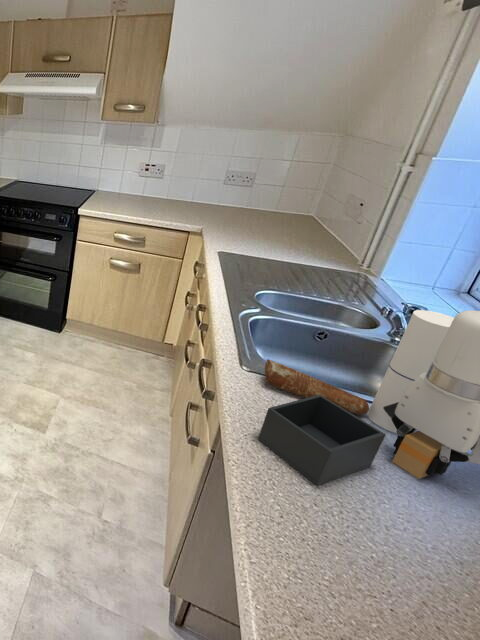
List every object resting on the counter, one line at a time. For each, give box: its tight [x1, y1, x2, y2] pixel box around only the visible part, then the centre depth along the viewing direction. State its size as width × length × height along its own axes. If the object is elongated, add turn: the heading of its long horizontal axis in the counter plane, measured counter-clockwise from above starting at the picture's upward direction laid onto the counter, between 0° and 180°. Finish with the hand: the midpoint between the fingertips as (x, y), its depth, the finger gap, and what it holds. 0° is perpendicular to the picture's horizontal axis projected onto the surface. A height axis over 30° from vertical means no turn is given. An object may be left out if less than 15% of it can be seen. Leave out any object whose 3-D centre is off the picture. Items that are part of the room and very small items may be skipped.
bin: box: [257, 395, 386, 486], centre depth 78 cm, size 14×11×8 cm
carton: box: [392, 430, 442, 480], centre depth 76 cm, size 5×4×6 cm
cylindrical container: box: [367, 309, 455, 434], centre depth 83 cm, size 7×7×25 cm
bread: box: [264, 358, 370, 415], centre depth 94 cm, size 6×19×6 cm, turn 50°
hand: (416, 462), depth 76 cm, fingers closed on carton, 4 cm apart
